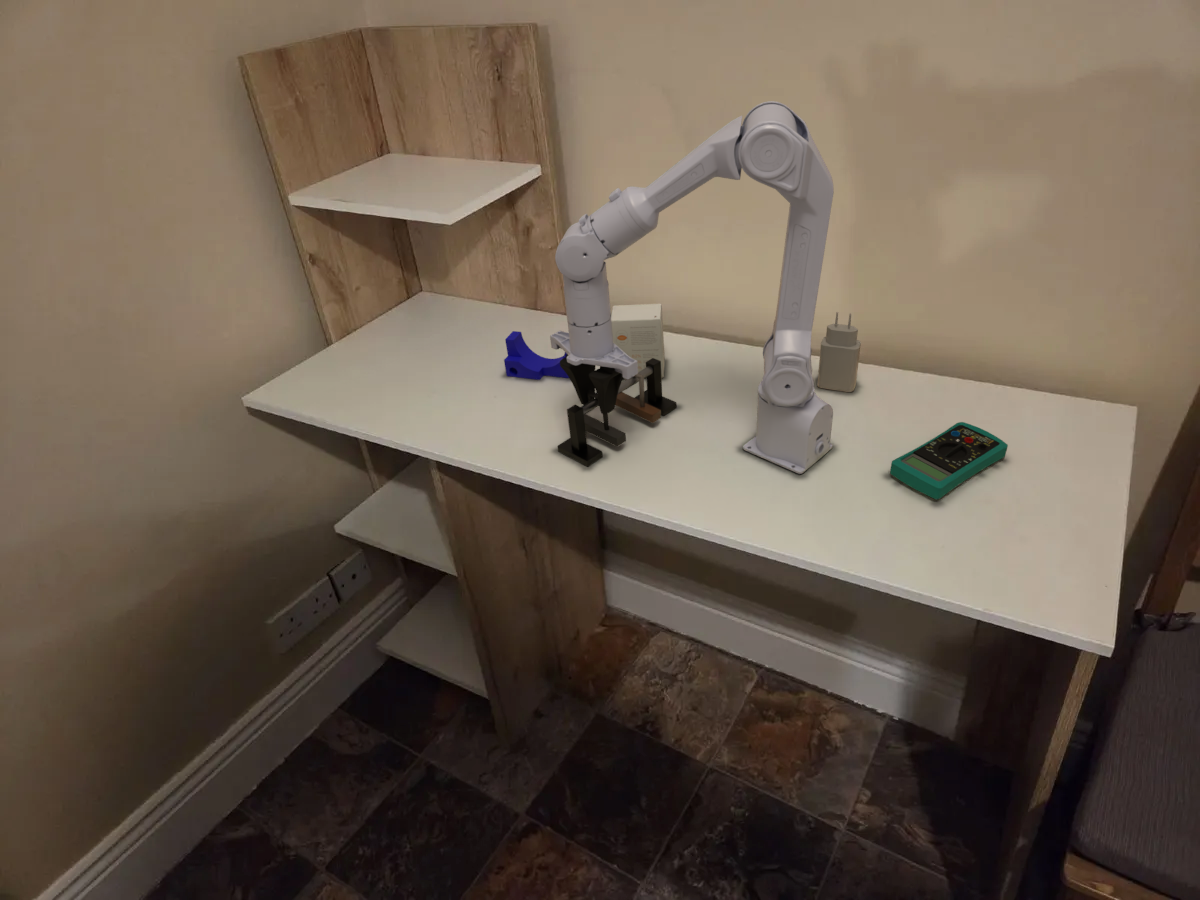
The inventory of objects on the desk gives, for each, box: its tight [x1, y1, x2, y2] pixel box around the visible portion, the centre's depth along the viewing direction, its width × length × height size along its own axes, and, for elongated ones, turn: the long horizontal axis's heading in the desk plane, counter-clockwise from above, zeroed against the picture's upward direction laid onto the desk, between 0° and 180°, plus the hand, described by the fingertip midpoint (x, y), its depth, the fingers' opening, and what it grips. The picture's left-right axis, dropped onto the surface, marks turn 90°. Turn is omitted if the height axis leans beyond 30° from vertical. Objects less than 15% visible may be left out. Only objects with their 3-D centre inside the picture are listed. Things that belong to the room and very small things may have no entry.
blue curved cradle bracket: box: [503, 330, 570, 381], centre depth 131 cm, size 12×4×6 cm, turn 70°
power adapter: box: [816, 311, 862, 393], centre depth 119 cm, size 3×5×12 cm, turn 65°
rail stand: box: [557, 358, 678, 468], centre depth 115 cm, size 6×19×8 cm, turn 136°
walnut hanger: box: [615, 373, 662, 424], centre depth 117 cm, size 8×2×7 cm, turn 46°
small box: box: [611, 303, 666, 380], centre depth 128 cm, size 8×6×10 cm
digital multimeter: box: [889, 421, 1009, 500], centre depth 103 cm, size 7×15×3 cm, turn 125°
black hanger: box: [584, 390, 627, 448], centre depth 113 cm, size 8×2×7 cm, turn 46°
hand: (597, 406), depth 112 cm, fingers closed on black hanger, 3 cm apart
